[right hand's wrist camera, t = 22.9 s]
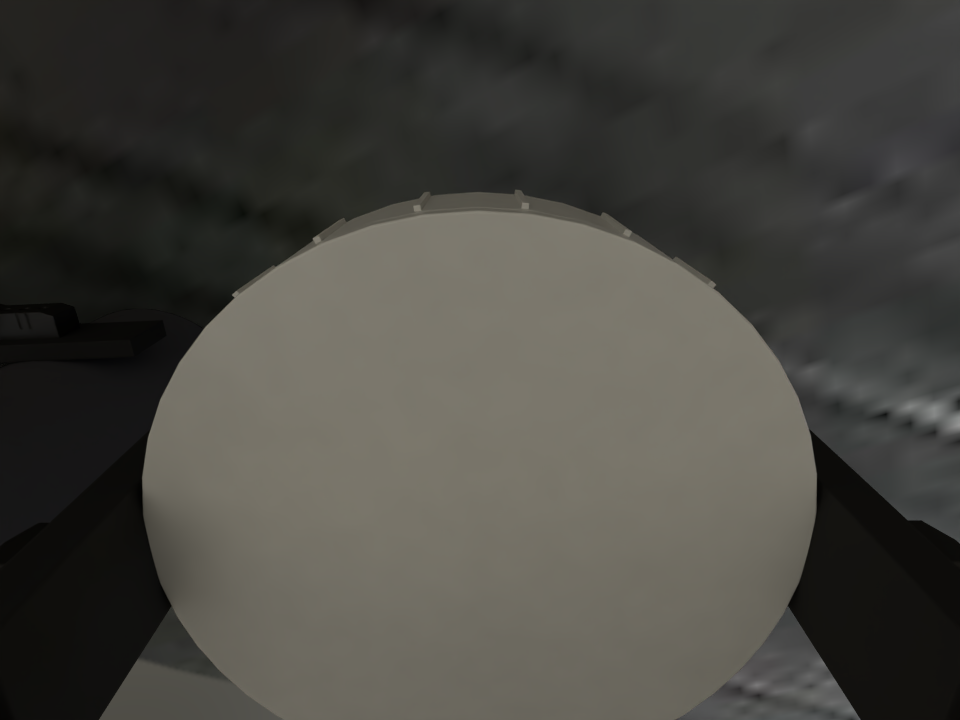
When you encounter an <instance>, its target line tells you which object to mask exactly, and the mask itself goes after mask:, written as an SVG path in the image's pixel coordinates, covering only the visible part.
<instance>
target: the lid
mask: <svg viewBox="0 0 960 720" xmlns="http://www.w3.org/2000/svg"><path fill="white" fill-rule="evenodd" d="M313 240H314V241H312V242H311V243H309V244H308V245H306V246H305V247H304V248H302V249H301V250H299V251H298V252H297V253H295V254H294V255H292V256H291V257H289V258H288V259H287V260H285V261H284V262H282V263H281V264H279V265H278V266H277V267H275V266H274V265H273V266H272V267H270V268H269V269H267V270H266V271H265V272H263V273H262V274H260V275H259V276H257V277H256V278H254V279H253V280H251V281H250V282H249V283H247V284H246V285H244V286H243V287H241V288H240V289H238V290H237V291H236V292H235V293H234V294H232V296H233V297H235V298H234V299H233V300H232V301H231V302H230V303H229V304H228V305H227V306H226V307H225V308H224V309H223V310H222V311H221V312H220V313H219V314H218V315H217V316H216V317H215V318H214V319H213V320H212V321H211V322H210V323H209V324H208V325H207V326H206V327H205V328H204V330H203V331H202V332H201V334H200V335H199V336H198V338H197V339H196V340H195V342H194V343H193V344H192V346H191V347H190V349H189V350H188V351H187V353H186V354H185V355H184V357H183V358H182V359H181V361H180V362H179V364H178V366H177V368H176V370H175V372H174V374H173V376H172V378H171V380H170V382H169V384H168V385H167V387H166V389H165V391H164V393H163V395H162V397H161V399H160V402H159V405H158V408H157V411H156V414H155V418H154V421H153V424H152V427H151V430H150V433H149V436H148V441H147V448H146V455H145V462H144V469H143V476H142V490H143V518H144V522H145V527H146V531H147V535H148V540H149V544H150V548H151V552H152V556H153V560H154V563H155V567H156V571H157V574H158V578H159V580H160V583H161V586H162V588H163V590H164V592H165V594H166V596H167V598H168V600H169V601H170V603H171V605H172V607H173V609H174V611H175V613H176V615H177V617H178V618H179V620H180V621H181V623H182V624H183V626H184V627H185V629H186V630H187V631H188V633H189V634H190V636H191V637H192V639H193V640H194V642H195V643H196V644H197V646H198V647H199V648H200V649H201V650H202V651H203V652H204V654H205V655H206V656H207V657H208V658H209V659H210V660H211V661H212V663H213V664H214V665H215V666H216V667H217V668H218V669H219V670H220V671H221V672H222V673H223V674H224V675H225V676H226V677H227V678H228V679H230V680H231V681H232V682H233V683H234V684H235V685H236V686H237V687H239V688H240V689H241V690H242V691H243V692H244V693H245V694H247V695H248V696H249V697H251V698H252V699H254V700H255V701H256V702H258V703H259V704H261V705H262V706H264V707H265V708H267V709H268V710H269V711H271V712H272V713H274V714H275V715H276V716H278V717H280V718H282V719H284V720H675V719H677V718H679V717H681V716H682V715H684V714H686V713H687V712H689V711H690V710H691V709H693V708H694V707H696V706H697V705H698V704H700V703H701V702H703V701H704V700H705V699H707V698H708V697H710V696H711V695H712V694H714V693H715V692H716V691H717V690H718V689H719V688H721V687H722V686H723V685H724V684H725V683H726V682H727V681H728V680H729V679H731V678H732V677H733V676H734V675H735V674H736V673H737V672H738V671H740V670H741V668H742V667H743V666H744V665H745V664H746V663H747V662H748V660H749V659H750V658H751V657H752V656H753V655H754V654H755V653H756V651H757V650H758V649H759V648H760V647H761V646H762V645H763V643H764V642H765V641H766V639H767V638H768V636H769V635H770V633H771V632H772V630H773V629H774V627H775V626H776V624H777V623H778V621H779V620H780V618H781V617H782V615H783V614H784V612H785V610H786V608H787V606H788V604H789V602H790V600H791V598H792V596H793V594H794V592H795V590H796V588H797V586H798V584H799V582H800V579H801V575H802V572H803V568H804V564H805V561H806V557H807V553H808V549H809V545H810V541H811V537H812V532H813V528H814V523H815V518H816V512H817V472H816V466H815V460H814V453H813V447H812V441H811V435H810V432H809V429H808V426H807V423H806V420H805V417H804V414H803V411H802V408H801V405H800V402H799V399H798V396H797V394H796V392H795V390H794V388H793V387H792V385H791V383H790V381H789V379H788V377H787V375H786V373H785V371H784V369H783V368H782V366H781V364H780V362H779V360H778V359H777V357H776V356H775V355H774V353H773V352H772V350H771V349H770V348H769V347H768V345H767V344H766V343H765V341H764V340H763V339H762V337H761V336H760V335H759V333H758V332H757V331H756V329H755V328H754V327H753V325H752V324H751V323H750V322H749V321H748V320H747V319H746V318H745V317H744V316H743V315H742V314H740V313H739V312H738V311H737V310H736V309H735V308H734V307H733V306H732V305H731V304H730V303H729V302H728V301H727V300H726V299H725V298H724V297H723V296H722V295H721V294H720V293H719V292H717V291H716V290H715V289H713V288H714V287H715V286H716V284H715V283H714V282H713V281H711V280H710V279H708V278H707V277H705V276H704V275H702V274H701V273H699V272H698V271H696V270H695V269H694V268H692V267H691V266H689V265H688V264H686V263H685V262H683V261H682V260H680V259H679V258H677V257H675V258H674V259H673V260H672V259H671V258H670V257H668V256H667V255H665V254H664V253H663V252H661V251H660V250H658V249H657V248H655V247H654V246H653V245H651V244H650V243H648V242H647V241H645V240H644V239H643V238H641V237H640V236H638V235H636V234H634V233H632V231H630V230H629V229H628V228H626V227H625V226H623V225H622V224H621V223H619V222H618V221H616V220H615V219H613V218H612V217H611V216H609V215H608V214H606V213H602V215H601V216H598V215H595V214H592V213H589V212H587V211H584V210H581V209H578V208H575V207H572V206H569V205H567V204H564V203H559V202H554V201H549V200H544V199H539V198H534V197H529V196H525V195H524V194H523V193H522V191H521V190H515V194H500V193H484V192H473V193H459V194H445V195H434V196H431V195H430V192H425V193H423V195H422V196H421V197H420V198H419V199H415V200H410V201H406V202H401V203H396V204H392V205H390V206H387V207H384V208H381V209H378V210H376V211H373V212H370V213H367V214H365V215H362V216H359V217H356V218H354V219H352V220H350V221H348V222H346V221H345V219H344V218H343V219H341V220H339V221H337V222H336V223H334V224H333V225H332V226H330V227H329V228H327V229H326V230H324V231H323V232H321V233H320V234H318V235H317V236H316V237H314V238H313Z"/></svg>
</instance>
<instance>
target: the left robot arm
mask: <svg viewBox="0 0 960 720" xmlns="http://www.w3.org/2000/svg"><path fill="white" fill-rule="evenodd" d="M166 336H167V335H166V331H165V327H164V323H163V320H154V321H131V322H109V323H86V324H79V321H78V318H77V314H76V311H75V308H74V307H73V306H70V305H66V304H63V303H51V304H29V305H3V304H0V363H5V362H28V361H52V360H75V359H98V358H121V357H135V356H137V355H138V354H140V353H141V352H143V351H144V350H146V349H147V348H149V347H150V346H152V345H153V344H155V343H156V342H158V341H159V340H161V339H163V338H164V337H166Z"/></svg>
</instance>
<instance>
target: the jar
mask: <svg viewBox="0 0 960 720" xmlns="http://www.w3.org/2000/svg"><path fill="white" fill-rule="evenodd" d="M154 320H163V323H164V327H165V331H166V335H167V336H166V337H164V338H163V339H161V340H159V341H158V342H156V343H155V344H153V345H152V346H150V347H149V348H147V349H146V350H144V351H143V352H141V353H140V354H138V355H137V356H135V357H121V358H98V359H75V360H52V361H28V362H11V363H9V364H7V365H5V366H3V367H1V368H0V546H1V545H2V544H3V543H4V542H6V541H8V540H9V539H11V538H13V537H15V536H16V535H18V534H20V533H22V532H23V531H25V530H27V529H29V528H30V527H32V526H34V525H36V524H37V523H50V522H51V521H52V520H53V519H54V518H55V517H56V516H57V515H58V514H59V513H61V512H62V511H63V510H64V509H65V508H66V507H67V506H68V505H69V504H70V503H71V502H72V501H73V500H75V499H76V498H77V497H78V496H79V495H80V494H81V493H82V492H83V491H84V490H85V489H86V488H88V487H89V486H90V485H91V484H92V483H93V482H94V481H95V480H96V479H97V478H98V477H99V476H100V475H102V474H103V473H104V472H105V471H106V470H107V469H108V468H109V467H110V466H111V465H112V464H113V463H114V462H116V461H117V460H118V459H119V458H120V457H121V456H122V455H123V454H124V453H125V452H126V451H127V450H128V449H130V448H131V447H132V446H133V445H134V444H135V443H136V442H137V441H138V440H139V439H140V438H141V437H142V436H144V435H145V434H146V433H147V432H148V431H149V430H150V429H151V427H152V424H153V421H154V418H155V414H156V411H157V408H158V405H159V402H160V399H161V397H162V395H163V393H164V391H165V389H166V387H167V385H168V384H169V382H170V380H171V378H172V376H173V374H174V372H175V370H176V368H177V366H178V364H179V362H180V361H181V359H182V358H183V357H184V355H185V354H186V353H187V351H188V350H189V349H190V347H191V346H192V344H193V343H194V342H195V340H196V339H197V338H198V336H199V335H200V334H201V332H202V331H203V330H204V329H203V328H201V327H199V326H198V325H196V324H195V323H193V322H191V321H189V320H187V319H185V318H182V317H179V316H177V315H174V314H171V313H167V312H163V311H158V310H150V309H129V310H122V311H118V312H114V313H111V314H108V315H106V316H104V317H101V318H99V319H97V320H95V321H93V322H91V323H109V322H131V321H154Z"/></svg>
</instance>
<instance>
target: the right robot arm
mask: <svg viewBox="0 0 960 720" xmlns="http://www.w3.org/2000/svg"><path fill="white" fill-rule="evenodd" d="M150 430H151V429H150ZM150 430H149V431H148V432H147V433H146V434H145V435H144V436H142V437H141V438H140V439H139V440H138V441H137V442H136V443H135V444H134V445H133V446H132V447H131V448H130V449H128V450H127V451H126V452H125V453H124V454H123V455H122V456H121V457H120V458H119V459H118V460H117V461H116V462H114V463H113V464H112V465H111V466H110V467H109V468H108V469H107V470H106V471H105V472H104V473H103V474H102V475H100V476H99V477H98V478H97V479H96V480H95V481H94V482H93V483H92V484H91V485H90V486H89V487H88V488H86V489H85V490H84V491H83V492H82V493H81V494H80V495H79V496H78V497H77V498H76V499H75V500H73V501H72V502H71V503H70V504H69V505H68V506H67V507H66V508H65V509H64V510H63V511H62V512H61V513H59V514H58V515H57V516H56V517H55V518H54V519H53V520H52V521H51V522H50V523H37V524H36V525H34V526H32V527H30V528H29V529H27V530H25V531H23V532H22V533H20V534H18V535H16V536H15V537H13V538H11V539H9V540H8V541H6V542H4V543H3V544H2V545H1V546H0V720H99V719H100V717H101V715H102V714H103V712H104V711H105V709H106V708H107V706H108V704H109V703H110V701H111V700H112V698H113V697H114V695H115V693H116V692H117V690H118V689H119V687H120V686H121V684H122V682H123V681H124V679H125V678H126V676H127V675H128V673H129V672H130V670H131V668H132V667H133V665H134V664H135V662H136V661H137V659H138V657H139V656H140V654H141V653H142V651H143V650H144V648H145V647H146V645H147V643H148V642H149V640H150V639H151V637H152V636H153V634H154V632H155V631H156V629H157V628H158V626H159V625H160V623H161V621H162V620H163V618H164V617H165V615H166V614H167V612H168V611H169V609H170V607H171V606H172V605H171V603H170V601H169V600H168V598H167V596H166V594H165V592H164V590H163V588H162V586H161V583H160V580H159V578H158V574H157V571H156V567H155V563H154V560H153V556H152V552H151V548H150V544H149V540H148V535H147V531H146V527H145V522H144V518H143V490H142V476H143V469H144V462H145V455H146V448H147V441H148V436H149V433H150ZM809 432H810V435H811V441H812V447H813V453H814V460H815V466H816V472H817V512H816V518H815V523H814V528H813V532H812V537H811V541H810V545H809V549H808V553H807V557H806V561H805V564H804V568H803V572H802V575H801V579H800V582H799V584H798V586H797V588H796V590H795V592H794V594H793V596H792V598H791V600H790V602H789V604H788V606H789V608H790V610H791V611H792V613H793V614H794V616H795V617H796V619H797V621H798V622H799V624H800V625H801V627H802V628H803V630H804V631H805V633H806V635H807V636H808V638H809V639H810V641H811V642H812V644H813V646H814V647H815V649H816V650H817V652H818V653H819V655H820V657H821V658H822V660H823V661H824V663H825V664H826V666H827V667H828V669H829V671H830V672H831V674H832V675H833V677H834V678H835V680H836V682H837V683H838V685H839V686H840V688H841V689H842V691H843V693H844V694H845V696H846V697H847V699H848V700H849V702H850V703H851V705H852V707H853V708H854V710H855V711H856V713H857V714H858V716H859V718H860V719H861V720H960V544H959V543H958V542H957V541H956V540H955V539H953V538H951V537H949V536H948V535H946V534H944V533H942V532H941V531H939V530H937V529H935V528H933V527H932V526H930V525H928V524H926V523H925V522H923V521H908V520H907V519H905V518H904V517H903V516H902V515H901V514H900V513H899V512H898V511H897V510H896V509H895V508H894V507H893V506H891V505H890V504H889V503H888V502H887V501H886V500H885V499H884V498H883V497H882V496H881V495H880V494H879V493H877V492H876V491H875V490H874V489H873V488H872V487H871V486H870V485H869V484H868V483H867V482H866V481H865V480H863V479H862V478H861V477H860V476H859V475H858V474H857V473H856V472H855V471H854V470H853V469H852V468H851V467H849V466H848V465H847V464H846V463H845V462H844V461H843V460H842V459H841V458H840V457H839V456H838V455H837V454H835V453H834V452H833V451H832V450H831V449H830V448H829V447H828V446H827V445H826V444H825V443H824V442H822V441H821V440H820V439H819V438H818V437H817V436H816V435H815V434H814V433H813V432H812V431H811V430H810V429H809Z"/></svg>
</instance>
